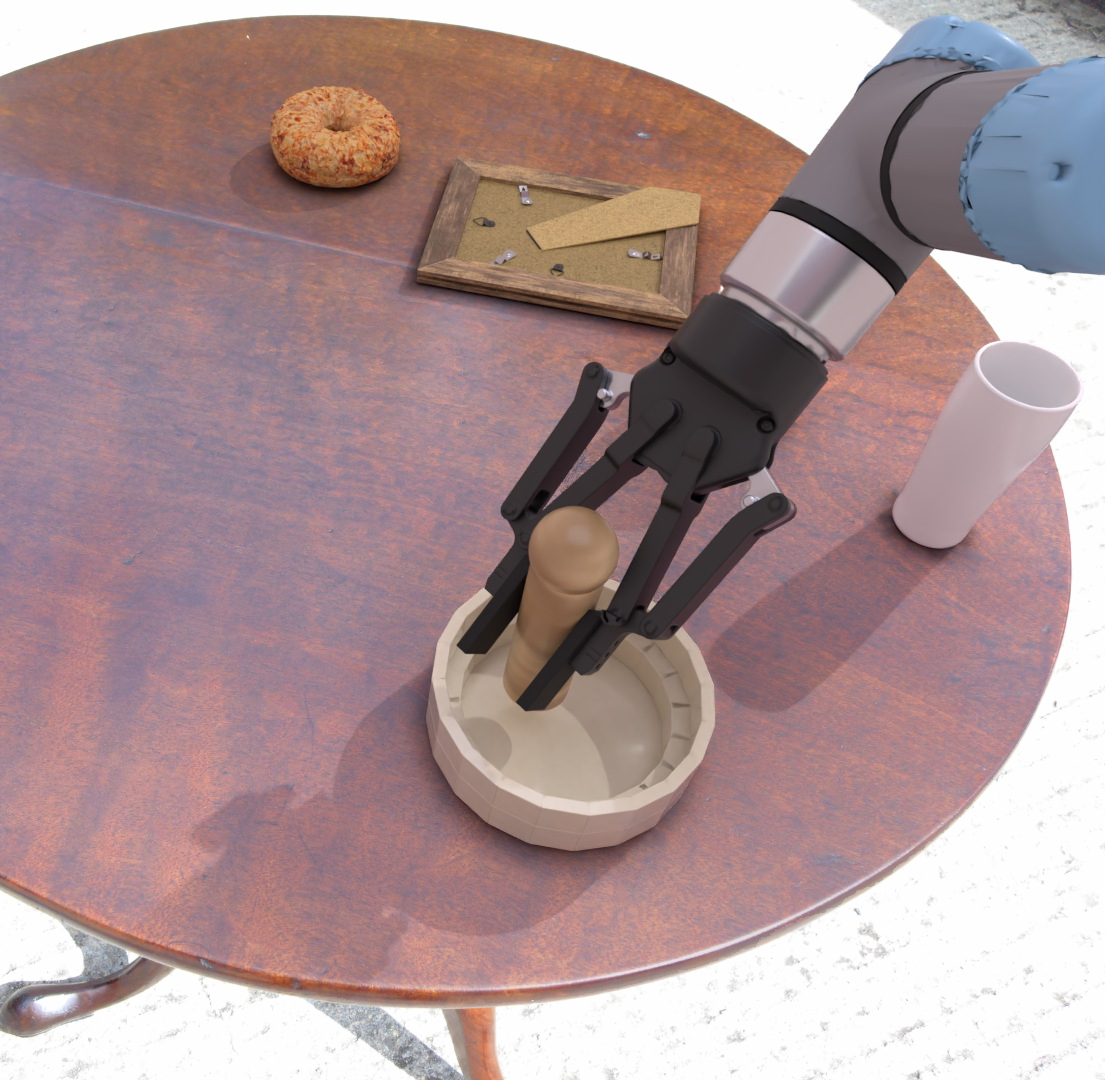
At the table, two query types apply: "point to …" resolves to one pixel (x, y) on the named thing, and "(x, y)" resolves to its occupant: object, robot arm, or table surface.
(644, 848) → the table surface
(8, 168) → the table surface
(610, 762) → the bowl
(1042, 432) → the drinking glass
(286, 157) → the bagel
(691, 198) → the picture frame
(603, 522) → the pestle
